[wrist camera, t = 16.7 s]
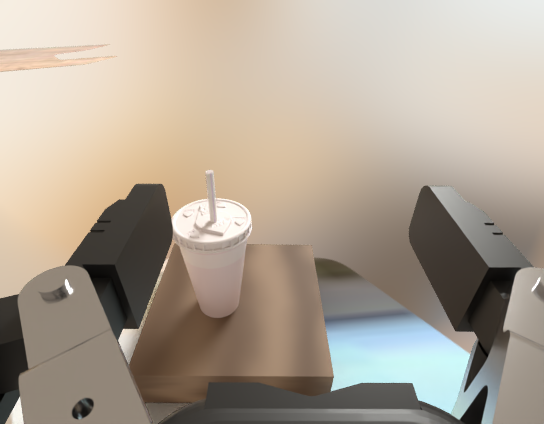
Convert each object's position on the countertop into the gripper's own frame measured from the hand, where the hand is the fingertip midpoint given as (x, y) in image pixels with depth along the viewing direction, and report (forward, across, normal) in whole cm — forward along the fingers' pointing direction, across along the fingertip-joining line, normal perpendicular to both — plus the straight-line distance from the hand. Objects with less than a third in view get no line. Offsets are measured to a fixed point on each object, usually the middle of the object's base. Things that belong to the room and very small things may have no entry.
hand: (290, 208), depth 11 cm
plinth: (+13, +4, +23) cm, 27 cm away
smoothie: (+12, +6, +19) cm, 24 cm away
